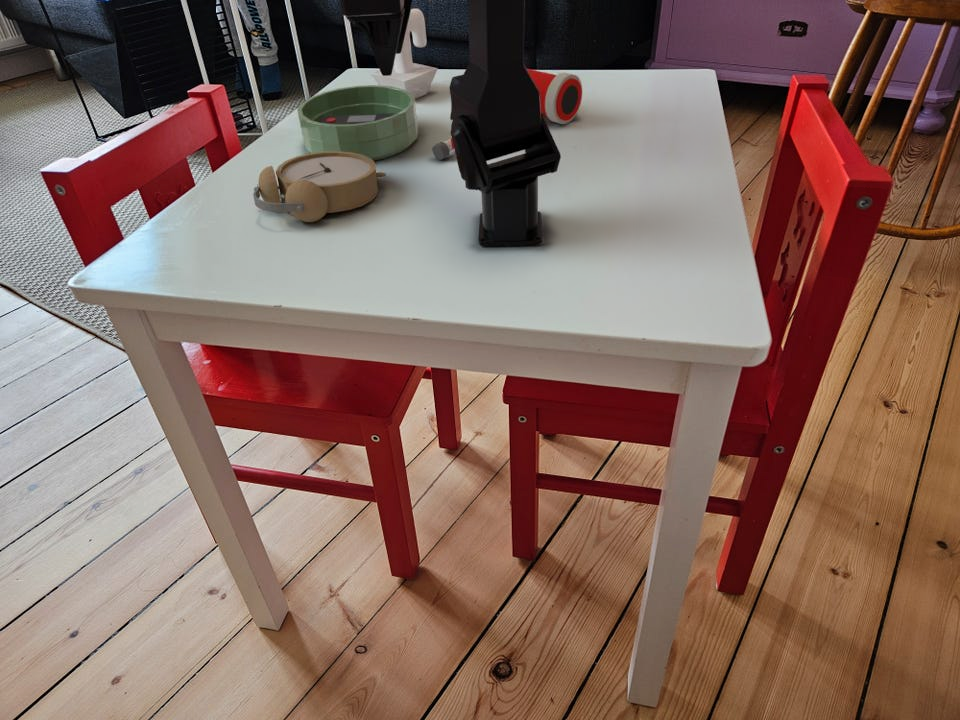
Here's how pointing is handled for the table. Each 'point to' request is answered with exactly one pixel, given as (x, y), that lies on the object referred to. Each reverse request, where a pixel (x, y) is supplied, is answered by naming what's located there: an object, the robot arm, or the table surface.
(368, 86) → the bowl
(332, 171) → the alarm clock
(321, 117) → the remote
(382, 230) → the table surface
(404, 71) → the figurine
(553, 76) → the toy hammer
